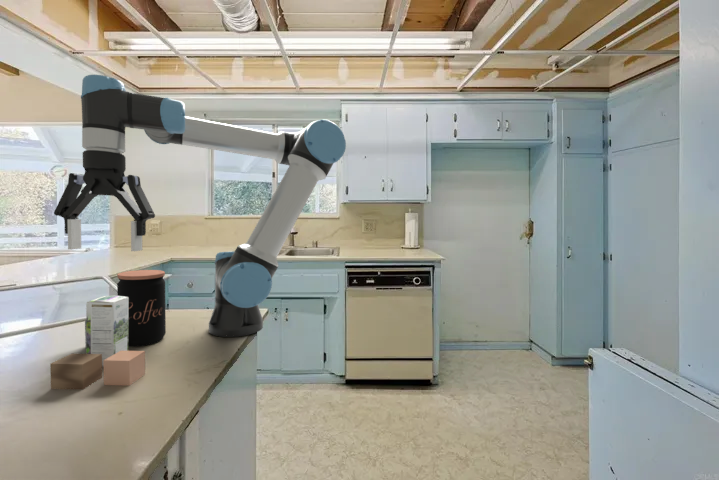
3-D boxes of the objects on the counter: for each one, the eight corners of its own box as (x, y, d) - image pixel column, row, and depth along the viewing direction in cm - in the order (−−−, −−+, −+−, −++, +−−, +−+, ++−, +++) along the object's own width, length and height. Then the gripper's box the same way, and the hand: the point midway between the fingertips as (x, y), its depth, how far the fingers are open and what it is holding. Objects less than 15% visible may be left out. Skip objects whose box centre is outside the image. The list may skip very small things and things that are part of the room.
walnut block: (102, 378, 71) (101, 354, 71) (82, 390, 66) (82, 364, 66) (72, 377, 71) (72, 353, 71) (51, 389, 66) (50, 363, 66)
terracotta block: (145, 374, 73) (144, 351, 73) (129, 385, 68) (129, 360, 68) (121, 373, 73) (120, 350, 73) (103, 385, 68) (103, 360, 68)
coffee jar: (115, 350, 85) (113, 277, 84) (121, 336, 95) (120, 270, 94) (165, 344, 90) (164, 274, 89) (166, 331, 100) (165, 269, 98)
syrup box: (103, 357, 81) (101, 295, 80) (129, 356, 81) (128, 295, 81) (85, 367, 75) (84, 301, 74) (114, 367, 76) (113, 301, 75)
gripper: (171, 157, 79) (171, 249, 81) (61, 153, 79) (63, 246, 80) (152, 150, 72) (152, 253, 73) (30, 146, 72) (33, 249, 73)
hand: (105, 250), depth 77 cm, fingers open, 13 cm apart
